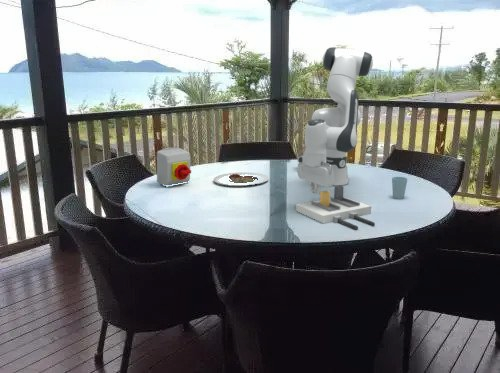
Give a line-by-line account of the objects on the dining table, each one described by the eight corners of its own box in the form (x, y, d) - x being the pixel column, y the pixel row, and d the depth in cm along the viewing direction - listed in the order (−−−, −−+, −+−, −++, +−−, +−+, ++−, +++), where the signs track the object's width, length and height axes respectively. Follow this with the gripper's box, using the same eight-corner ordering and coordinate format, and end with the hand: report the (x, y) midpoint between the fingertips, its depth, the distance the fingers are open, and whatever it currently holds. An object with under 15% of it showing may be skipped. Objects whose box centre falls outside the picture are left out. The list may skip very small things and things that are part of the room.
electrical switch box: (171, 193, 215) (171, 156, 208) (156, 184, 225) (156, 148, 218) (195, 188, 224) (196, 152, 217) (180, 180, 234) (180, 145, 227)
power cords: (332, 221, 161) (333, 216, 160) (353, 216, 166) (353, 211, 165) (354, 230, 150) (355, 225, 150) (376, 225, 155) (376, 220, 154)
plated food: (250, 191, 209) (249, 184, 208) (202, 184, 224) (202, 178, 224) (278, 178, 233) (278, 172, 233) (233, 173, 249) (233, 168, 248)
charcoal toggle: (334, 200, 177) (334, 186, 176) (340, 199, 179) (340, 185, 177) (337, 201, 176) (337, 187, 174) (343, 200, 177) (343, 186, 176)
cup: (400, 194, 195) (401, 176, 193) (409, 198, 189) (410, 179, 187) (387, 196, 193) (389, 177, 191) (396, 200, 187) (397, 180, 185)
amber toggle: (320, 205, 170) (320, 191, 168) (326, 204, 171) (326, 190, 170) (323, 207, 168) (323, 192, 167) (329, 205, 169) (329, 191, 168)
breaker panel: (296, 211, 174) (296, 201, 173) (341, 202, 185) (342, 193, 184) (323, 223, 159) (323, 212, 158) (370, 213, 169) (371, 203, 168)
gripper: (338, 163, 164) (336, 197, 167) (307, 155, 181) (306, 186, 185) (325, 165, 161) (324, 199, 164) (295, 157, 178) (294, 188, 182)
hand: (314, 192), depth 174 cm, fingers closed
